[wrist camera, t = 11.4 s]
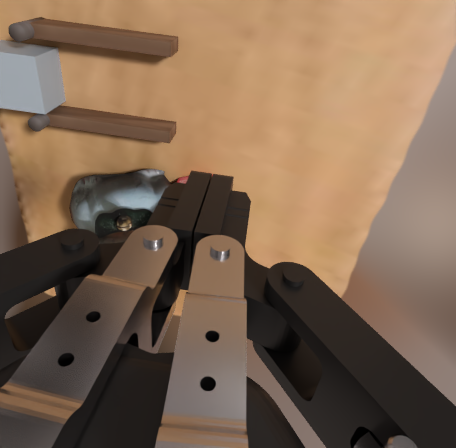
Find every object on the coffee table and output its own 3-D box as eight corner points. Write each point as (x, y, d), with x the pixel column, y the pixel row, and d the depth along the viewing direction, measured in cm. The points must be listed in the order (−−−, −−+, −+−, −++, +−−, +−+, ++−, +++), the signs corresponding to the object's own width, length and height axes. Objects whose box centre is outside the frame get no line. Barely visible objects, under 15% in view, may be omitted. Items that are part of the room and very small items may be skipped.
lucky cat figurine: (188, 166, 49) (196, 265, 42) (182, 214, 59) (188, 300, 53) (64, 164, 46) (51, 271, 39) (81, 216, 56) (73, 307, 50)
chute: (34, 16, 41) (6, 22, 37) (178, 35, 40) (166, 44, 36) (51, 115, 47) (29, 130, 43) (175, 133, 47) (165, 150, 43)
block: (-2, 39, 43) (-32, 47, 39) (58, 47, 43) (34, 56, 39) (10, 92, 46) (-16, 105, 42) (66, 100, 46) (45, 114, 42)
